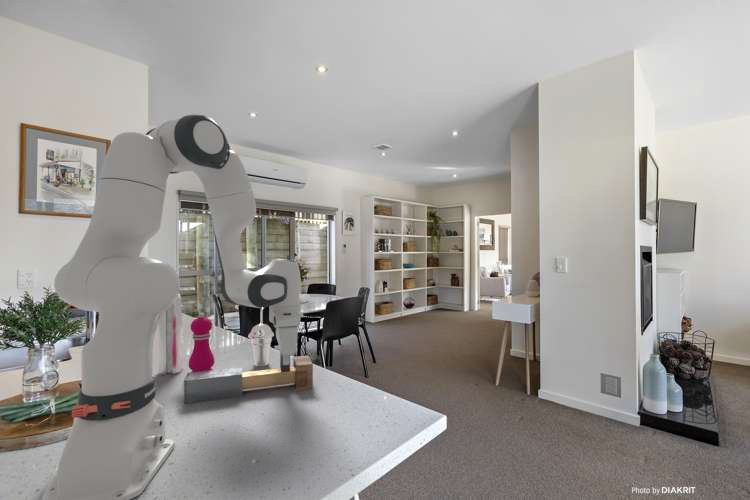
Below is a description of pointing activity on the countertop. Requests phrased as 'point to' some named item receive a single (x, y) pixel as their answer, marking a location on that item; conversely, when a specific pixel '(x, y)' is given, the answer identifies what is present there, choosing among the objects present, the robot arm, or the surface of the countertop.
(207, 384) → the sleeve
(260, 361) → the cup with straw
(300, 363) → the socket block
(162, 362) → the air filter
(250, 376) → the gold post block
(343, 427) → the countertop surface
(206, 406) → the countertop surface
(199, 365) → the pepper mill
